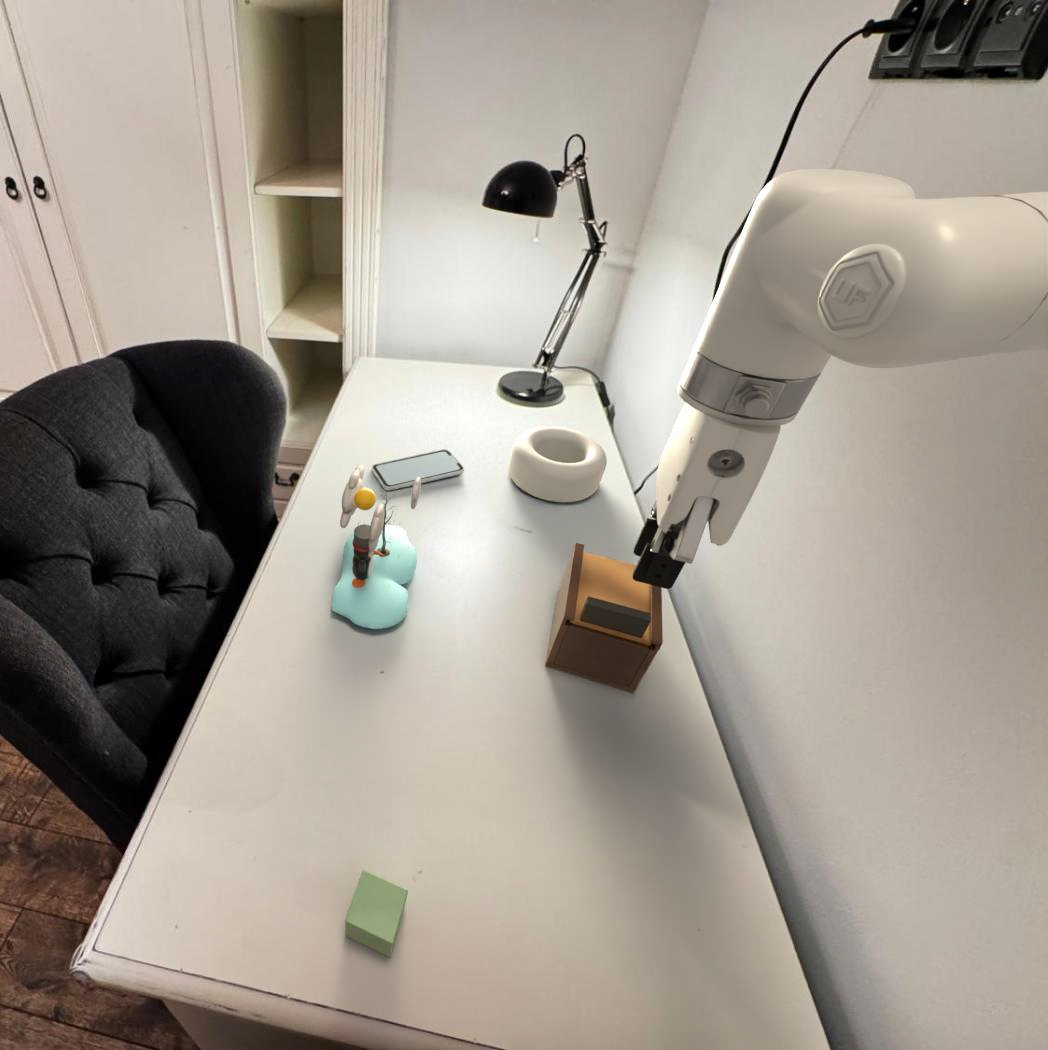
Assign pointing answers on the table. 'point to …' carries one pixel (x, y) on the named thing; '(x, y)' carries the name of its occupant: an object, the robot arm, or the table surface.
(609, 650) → the box
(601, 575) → the lid
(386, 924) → the block
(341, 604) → the penguin figurine
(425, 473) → the smartphone
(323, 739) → the table surface
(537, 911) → the table surface
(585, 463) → the fat ring
